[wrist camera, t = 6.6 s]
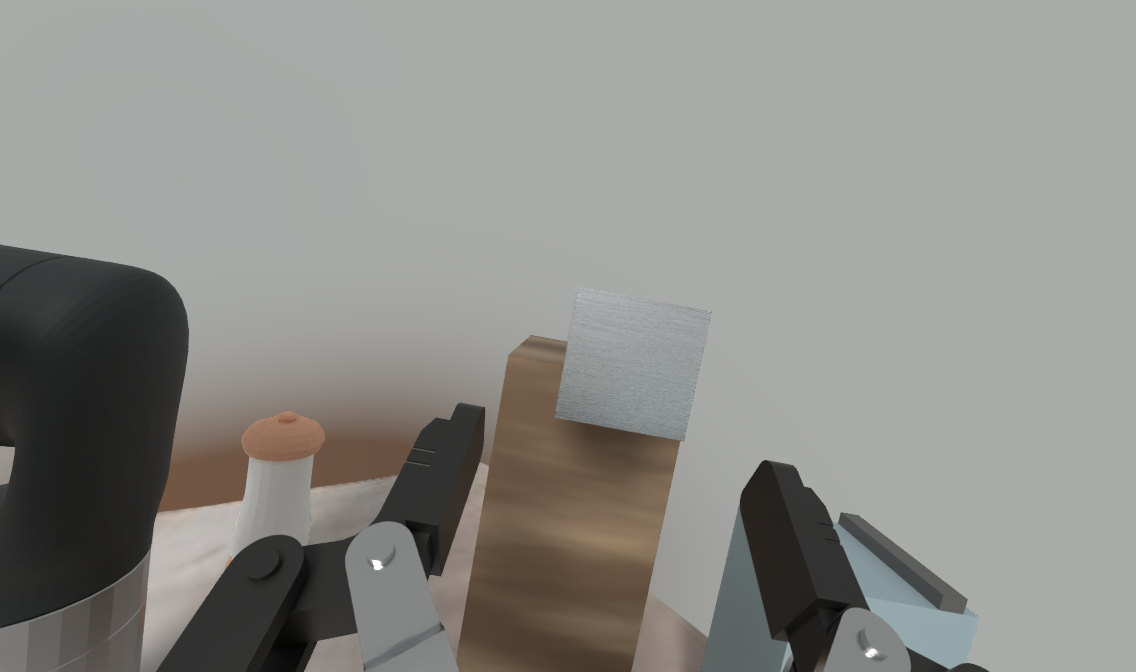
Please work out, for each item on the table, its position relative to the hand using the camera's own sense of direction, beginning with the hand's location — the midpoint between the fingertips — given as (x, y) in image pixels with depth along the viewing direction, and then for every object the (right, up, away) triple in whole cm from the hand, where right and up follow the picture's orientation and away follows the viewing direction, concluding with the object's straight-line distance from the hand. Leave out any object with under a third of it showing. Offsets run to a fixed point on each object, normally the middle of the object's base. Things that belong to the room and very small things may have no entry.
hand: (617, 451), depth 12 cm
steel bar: (0, +2, +14) cm, 14 cm away
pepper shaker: (-33, -23, +32) cm, 52 cm away
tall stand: (-5, -29, +20) cm, 36 cm away
